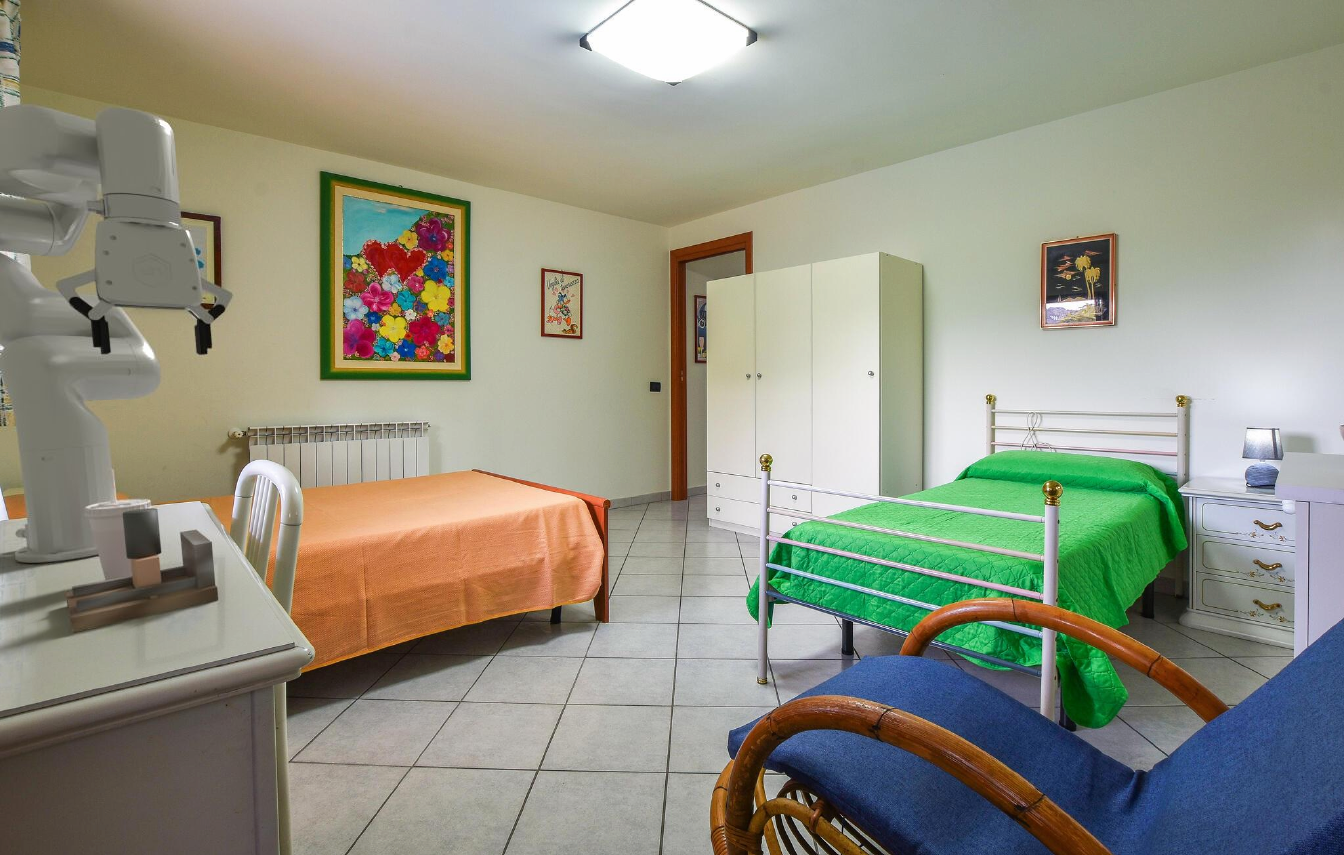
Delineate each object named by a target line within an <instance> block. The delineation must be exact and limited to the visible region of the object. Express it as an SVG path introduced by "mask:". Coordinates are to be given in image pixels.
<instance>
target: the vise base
mask: <svg viewBox="0 0 1344 855" xmlns="http://www.w3.org/2000/svg"><path fill="white" fill-rule="evenodd" d="M179 534H180V547H181V556H182V558H181V559H182V565H180V566H176V567H170V568H164V569H160V572H161V584H156V585H151V586H146V587H141V588H135V586H134V585H133V579H132V576H126V577H121V578H116V579H110V580H105V579H104V580H100V581H94V582H88V583H85V584H79V585H74V586H71V588H72V591H67V592H65V597H66V599H65V600H66V605H67V611H68V616H69V619H70V625H71V628H72V633H77V632H81V631H87V630H90V629H91V630H92V629H95V628H100V627H103V626H104V627H105V626H108V625H112V624H116V623H117V624H118V623H121V622H126V621H130V620H134V619H139V618H143V617H149V616H153V615H158V614H161V613H162V614H163V613H166V612H172V611H176V610H180V609H184V608H188V607H193V606H198V605H202V604H207V603H211V602H214V601H219V593H218V592H219V591H218V586H217V585H216V578H215V565H214V564H215V563H214V553H213V551H214V550H213V542H212V541H211V540H210V539H208V538H207V537H206V536H205V535H204V534H202V533H201V532H200V531H199V530H197V529H192V530H191V529H190V530H185V531H179Z"/></svg>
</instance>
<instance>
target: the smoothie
mask: <svg viewBox="0 0 1344 855" xmlns="http://www.w3.org/2000/svg"><path fill="white" fill-rule="evenodd" d="M108 479H109V489H110V499H111V501H109V502H102V503H97V504H93V505H89V506H87V507H85V508H84V511H85V515H84V516H86V517H88V518H89V522H90V526H91V530H92V533H93V536H94V540H95V544H96V547H97V551H98V555H97V556H98V557H99V562H100V565H101V568H102V573H103V576H104V581H105V580H110V579H116V578H121V577H126V576H132V569H131V559H128V558H127V555H126V544H125V534H124V524H123V514H122V513H124V512H127V511H131V510H137V509H147V508H153V506H152V503H151V502H152V501H151V500H150V499H148V498H131V499H130V498H129V499H128V498H127V499H117V491H116V490H117V489H116V482H115V471H114V469H113V468H112V469H109V470H108Z"/></svg>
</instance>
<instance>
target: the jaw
mask: <svg viewBox="0 0 1344 855" xmlns="http://www.w3.org/2000/svg"><path fill="white" fill-rule="evenodd" d="M158 512H159V510H158V508H157V507H156V508H155V507H152V508H147V509H137V510H131V511H127V512H124V513H122V514H123V524H124V534H125V544H126V555H127V558H128V559H131V569H132V579H133V585H134V586H135V588H141V587H146V586H151V585H156V584H161V572H160V570H161V563H160V561H161V560H160V557H159V556H160V554H162V546H161V534H160V533H161V532H160V523H159V522H160V521H159V513H158ZM158 555H159V556H158Z"/></svg>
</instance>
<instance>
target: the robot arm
mask: <svg viewBox="0 0 1344 855" xmlns="http://www.w3.org/2000/svg"><path fill="white" fill-rule="evenodd" d="M178 175H179V174H178V166H177V155H176V143H175V134H174V130H173V129H172V126H170V124H169V123H168V122H167V121H166V120H164V119H163V118H161V117H160V116H157V115H154V114H151V113H149V112H146V111H142V110H138V109H133V108H128V107H106V108H104V109H101V110H99V112H98V113H97V114H96V116H95V119H93V120H92V119H90V118H86V117H82V116H78V115H76V114H72V113H69V112H65V111H61V110H57V109H54V108H50V107H45V106H42V105H41V106H40V105H37V104H36V105H35V104H30V103H29V104H26V103H23V104H22V103H21V104H13V105H7V106H2V107H0V346H1V347H3V348H2V349H1V352H0V374H1V378H2V380H3V383H4V386H5V389H6V392H7V395H8V398H9V400H10V403H11V408H12V412H13V417H14V422H15V428H16V436H17V443H18V450H19V460H20V470H21V478H22V486H23V488H22V489H23V495H24V496H23V498H24V505H25V512H26V514H25V515H26V523H25V524H24V528H21V527H20V528H18V529H17V530H16V531H15V536H16V537H17V538H20V539H21V538H22V539H23V538H24V539H26V540H25V541H26V546H25V547H21V548H19V549H18V550H16V551H15V552H14V556H15V557H14V558H15V561H17V562H19V563H26V564H27V563H28V564H29V563H30V564H31V563H32V564H35V563H36V564H37V563H52V562H63V561H68V560H70V561H71V560H75V559H82V558H88V557H93V556H99V555H98V551H97V547H96V544H95V540H94V536H93V533H92V530H91V526H90V522H89V518H88V517H86V516H84V515H85V511H84V508H85V507H87V506H89V505H93V504H97V503H102V502H109V501H111V499H110V489H109V479H108V470H109V469H113V468H112V456H111V449H110V448H111V446H110V438H109V433H108V430H107V429H108V428H107V427H106V425H105V423H104V422H103V421H102V420H101V419H100V418H99V416H97V415H96V414H95V413H94V412H93V411H92V410H91V409H90V408H88V407H87V405H86V404H85V403H84V402H94V401H113V400H115V401H117V400H119V401H120V400H132V399H140V398H145V397H147V396H149V395H151V394H153V393H154V392H155V391H156V390H157V389H158V387H159V386H160V384H161V379H162V369H161V364H160V361H159V359H158V356H157V354H156V352H155V351H154V349H153V348H152V346H151V345H150V344H149V342H148V340H147V339H146V338H145V337H144V336H143V334H142V333H141V332H140V330H139V328H138V327H137V325H136V324H135V323H134V322H133V321H132V319H131V318H130V317H129V315H128V314H127V313H126V311H125V310H124V309H123V308H128V309H131V308H132V309H152V310H153V309H154V310H173V311H174V310H175V311H179V310H181V311H183V310H185V311H186V312H187V313H189V315H191V316H192V317H193V319H195V320H196V324H195V325H194V339H195V341H194V342H195V351H196V354H197V355H199V356H201V355H202V356H204V355H208V353H209V352H208V349H209V350H210V349H212V348H213V340H212V339H213V338H212V329H211V328H212V327H211V324H213V322H214V321H216V320H217V319H218V318H219V317H220V316H221V315H223V313H225V311H226V309H227V307H228V306H229V303H231V301H232V299H233V293H232V292H231V291H229V290H227V289H225V288H223V287H221V286H219V285H217V284H215V283H213V282H211V281H209V280H206V279H205V278H203V277H201V273H200V267H199V262H198V256H197V252H196V247H195V244H194V241H193V238H192V234H191V232H190V231H189V230H186V229H183V226H182V225H183V223H182V214H181V201H180V191H179V189H180V188H179V176H178ZM100 193H101V196H102V198H99V197H100ZM1 194H4V195H1ZM7 195H9V196H7ZM11 196H13V197H11ZM17 197H20V198H17ZM23 198H26V199H23ZM29 199H31V200H29ZM35 200H36V201H35ZM39 201H41V202H39ZM93 213H95V214H96V215H100V217H103V220H100V221H97V224H96V227H95V228H96V229H95V239H94V240H95V241H94V243H95V244H94V245H95V246H94V268H93V269H90V270H87V271H84V272H81V273H78V274H75V275H71V276H69V277H66V278H63V279H59V280H57V281H56V282H55V288H56V289H57V290H52V289H48V288H45V287H44V285H42V284H41V283H40V282H39V280H38V278H37V277H36V276H35V275H34V273H32V271H31V270H29V269H28V268H27V267H26V266H24V265H23V264H21V263H20V262H18V261H17V260H15V259H13V258H12V257H10V256H8V255H6V254H5V253H2V252H6V253H16V254H23V255H30V256H41V257H49V258H50V257H51V258H52V257H54V258H55V257H60V256H61V257H62V256H65V255H67V254H69V253H70V252H72V250H73V249H74V248H75V246H76V245H77V243H78V240H79V239H80V237H81V235H82V233H83V231H84V229H85V227H86V224H87V223H88V221H89V219H90V218H91V215H92V214H93ZM94 282H95V290H96V295H95V294H88V293H79V292H76V289H77V288H79V287H83V286H86V285H88V284H92V283H94ZM203 291H204V292H206V293H207V294H210V295H212V296H214V297H215V299H216V301H215V303H214V305H213V306H212V307H211V308H209V309H208V310H206V308H204V307H203V306H202V305H201V304H202V303H203Z"/></svg>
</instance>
